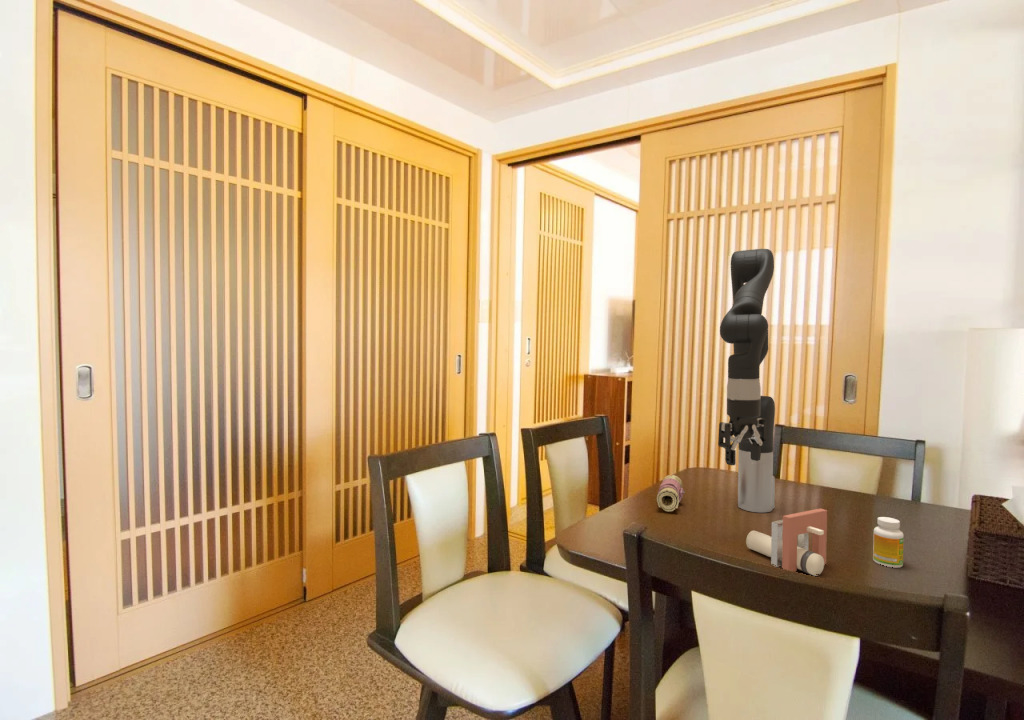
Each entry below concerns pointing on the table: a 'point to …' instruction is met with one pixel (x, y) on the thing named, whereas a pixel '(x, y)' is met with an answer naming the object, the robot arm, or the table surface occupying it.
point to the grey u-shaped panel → (777, 542)
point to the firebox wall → (800, 525)
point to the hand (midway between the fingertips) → (743, 462)
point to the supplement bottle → (888, 543)
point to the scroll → (670, 493)
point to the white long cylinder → (762, 544)
